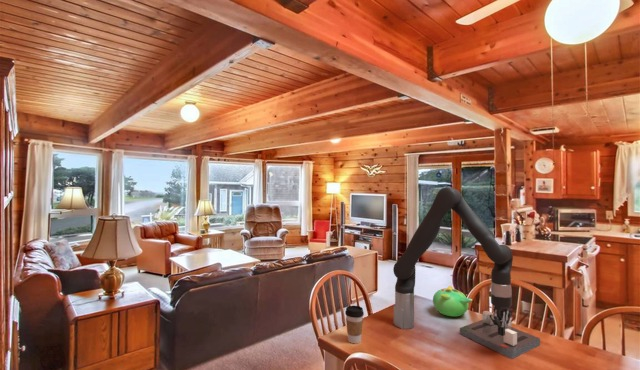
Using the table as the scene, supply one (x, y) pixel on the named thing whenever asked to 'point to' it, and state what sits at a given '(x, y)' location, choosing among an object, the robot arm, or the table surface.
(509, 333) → the white rectangular block
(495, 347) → the switch panel
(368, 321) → the table surface
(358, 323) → the coffee cup
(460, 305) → the green rounded blob
